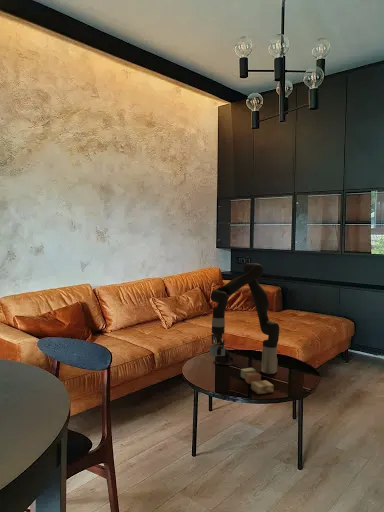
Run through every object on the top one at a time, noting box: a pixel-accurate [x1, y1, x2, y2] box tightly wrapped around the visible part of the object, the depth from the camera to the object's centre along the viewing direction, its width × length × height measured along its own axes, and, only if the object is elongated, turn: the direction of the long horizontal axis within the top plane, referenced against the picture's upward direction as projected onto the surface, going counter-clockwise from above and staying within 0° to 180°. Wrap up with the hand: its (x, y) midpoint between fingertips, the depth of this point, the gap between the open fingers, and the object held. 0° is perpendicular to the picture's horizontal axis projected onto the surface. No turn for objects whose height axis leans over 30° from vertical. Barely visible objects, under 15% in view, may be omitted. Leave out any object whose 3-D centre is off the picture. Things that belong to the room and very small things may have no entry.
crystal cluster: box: [214, 348, 235, 366], centre depth 271 cm, size 13×14×10 cm
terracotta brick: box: [244, 371, 262, 385], centre depth 236 cm, size 8×4×5 cm, turn 105°
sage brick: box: [240, 367, 257, 380], centre depth 244 cm, size 8×4×5 cm, turn 115°
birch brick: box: [250, 379, 275, 395], centre depth 224 cm, size 10×8×4 cm
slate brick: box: [208, 345, 226, 357], centre depth 227 cm, size 8×4×5 cm, turn 108°
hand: (217, 353), depth 227 cm, fingers closed on slate brick, 4 cm apart
